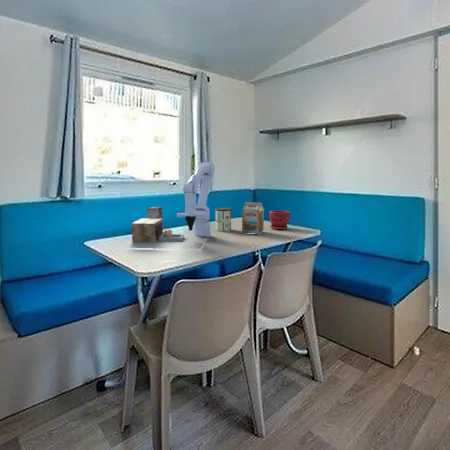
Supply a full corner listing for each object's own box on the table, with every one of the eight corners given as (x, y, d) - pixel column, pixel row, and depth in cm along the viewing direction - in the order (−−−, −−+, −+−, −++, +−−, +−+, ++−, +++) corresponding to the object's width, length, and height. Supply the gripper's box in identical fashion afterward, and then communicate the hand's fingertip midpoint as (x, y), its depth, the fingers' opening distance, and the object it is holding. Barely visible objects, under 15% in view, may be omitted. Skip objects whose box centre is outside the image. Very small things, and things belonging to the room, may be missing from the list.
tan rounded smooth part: (172, 238, 189) (172, 229, 188) (171, 240, 185) (170, 230, 184) (165, 238, 189) (165, 229, 188) (163, 239, 185) (163, 230, 184)
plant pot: (290, 230, 221) (291, 212, 219) (270, 230, 221) (271, 212, 220) (287, 227, 234) (288, 209, 232) (268, 227, 234) (268, 209, 232)
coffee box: (153, 232, 211) (152, 206, 209) (163, 232, 210) (162, 207, 207) (147, 235, 202) (146, 208, 200) (157, 235, 201) (156, 208, 199)
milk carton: (242, 233, 210) (242, 202, 207) (247, 230, 220) (248, 201, 217) (258, 234, 206) (259, 203, 203) (263, 232, 216) (264, 202, 213)
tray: (184, 239, 191) (184, 234, 190) (181, 243, 182) (181, 237, 182) (163, 239, 192) (162, 233, 191) (159, 242, 183) (158, 237, 182)
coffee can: (220, 228, 229) (221, 207, 227) (234, 229, 223) (234, 208, 221) (212, 230, 220) (212, 208, 218) (225, 232, 215) (225, 209, 213)
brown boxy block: (163, 237, 196) (162, 218, 194) (155, 244, 178) (154, 223, 177) (142, 237, 197) (141, 218, 195) (132, 243, 179) (131, 223, 177)
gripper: (175, 205, 179) (176, 231, 182) (203, 206, 179) (203, 231, 181) (178, 204, 186) (178, 229, 189) (204, 205, 186) (204, 229, 188)
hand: (190, 230), depth 185 cm, fingers closed
